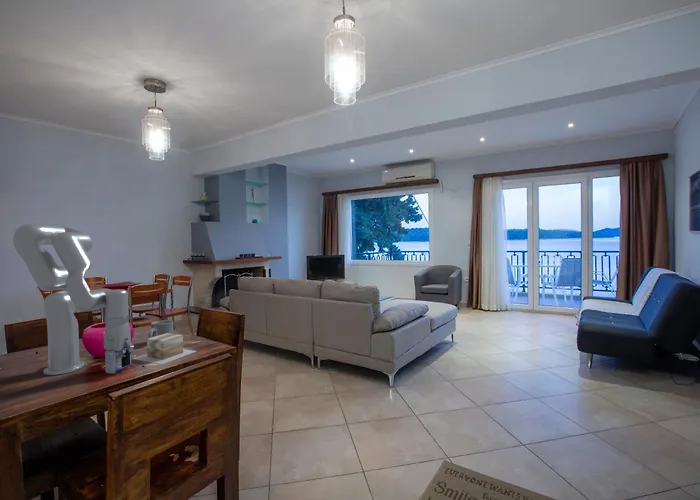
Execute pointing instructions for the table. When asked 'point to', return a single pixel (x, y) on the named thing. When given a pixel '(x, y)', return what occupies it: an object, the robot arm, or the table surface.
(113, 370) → the medicine box
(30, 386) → the table surface
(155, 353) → the oak slab
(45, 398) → the table surface
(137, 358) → the base board
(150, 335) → the coffee mug
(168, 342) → the birch slab
